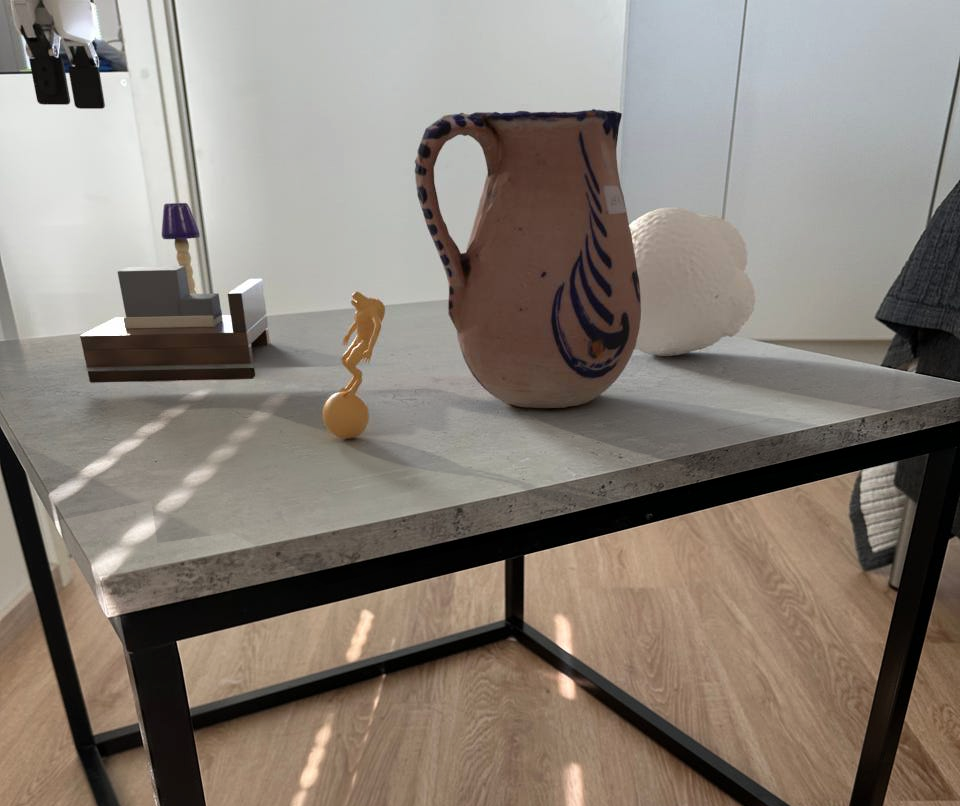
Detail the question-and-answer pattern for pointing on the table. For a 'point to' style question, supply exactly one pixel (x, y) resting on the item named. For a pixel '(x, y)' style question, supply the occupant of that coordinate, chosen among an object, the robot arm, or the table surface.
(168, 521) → the table surface
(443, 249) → the ceramic pitcher
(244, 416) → the table surface
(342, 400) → the figurine
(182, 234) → the toy lamp
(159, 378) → the wooden doll bed
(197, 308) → the trainer
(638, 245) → the white lobed lump
